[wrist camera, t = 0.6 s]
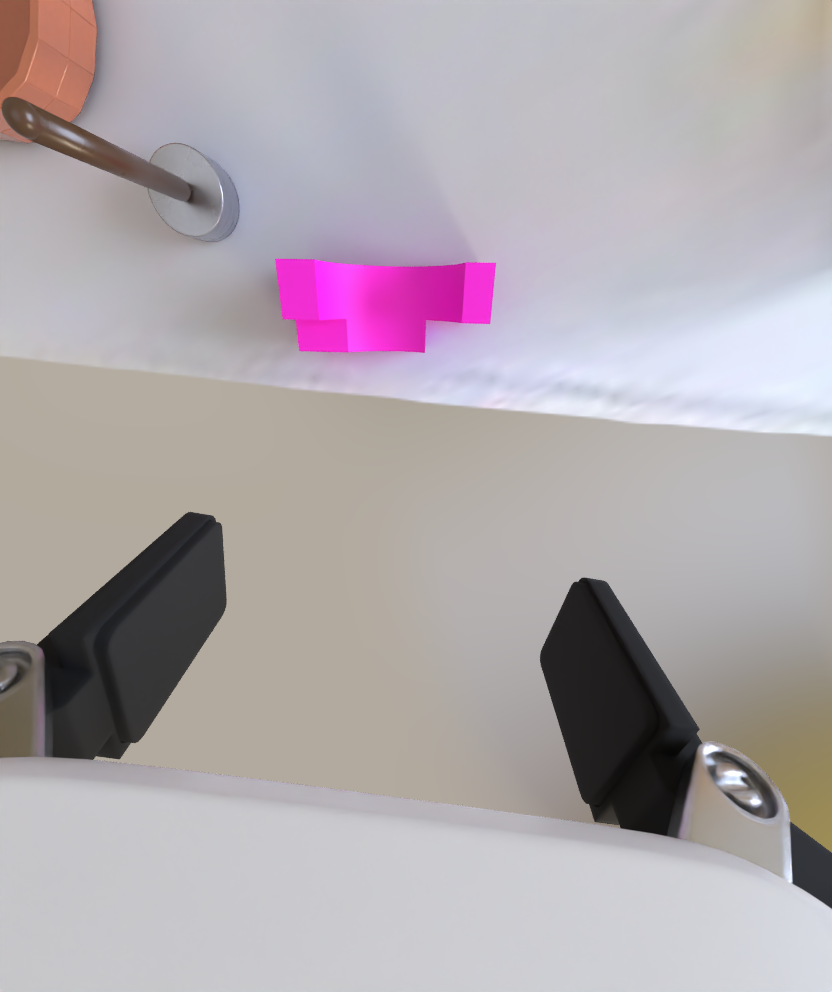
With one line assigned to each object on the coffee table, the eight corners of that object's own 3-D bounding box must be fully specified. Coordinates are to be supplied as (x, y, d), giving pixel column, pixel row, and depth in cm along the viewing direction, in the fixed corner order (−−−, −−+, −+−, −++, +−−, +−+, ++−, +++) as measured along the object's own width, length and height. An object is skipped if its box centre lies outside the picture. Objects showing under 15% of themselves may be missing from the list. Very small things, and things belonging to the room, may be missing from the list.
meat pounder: (163, 150, 30) (-88, 7, 15) (236, 161, 30) (55, 29, 15) (174, 236, 32) (-32, 183, 18) (242, 246, 32) (91, 201, 18)
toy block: (313, 345, 36) (287, 355, 29) (306, 267, 33) (275, 258, 26) (475, 349, 35) (486, 360, 29) (482, 271, 33) (495, 263, 26)
